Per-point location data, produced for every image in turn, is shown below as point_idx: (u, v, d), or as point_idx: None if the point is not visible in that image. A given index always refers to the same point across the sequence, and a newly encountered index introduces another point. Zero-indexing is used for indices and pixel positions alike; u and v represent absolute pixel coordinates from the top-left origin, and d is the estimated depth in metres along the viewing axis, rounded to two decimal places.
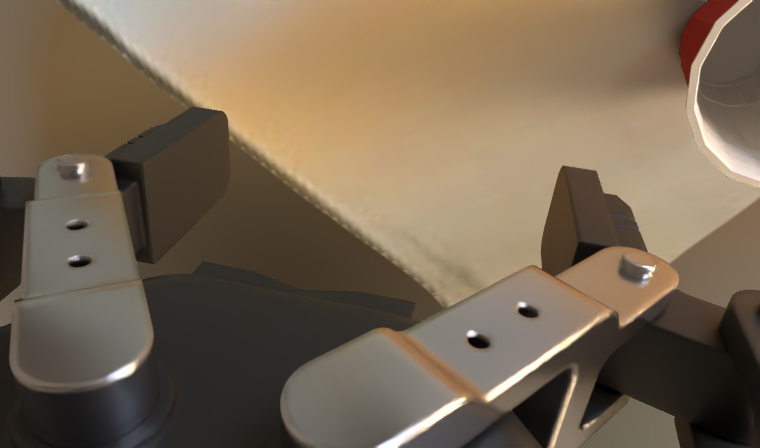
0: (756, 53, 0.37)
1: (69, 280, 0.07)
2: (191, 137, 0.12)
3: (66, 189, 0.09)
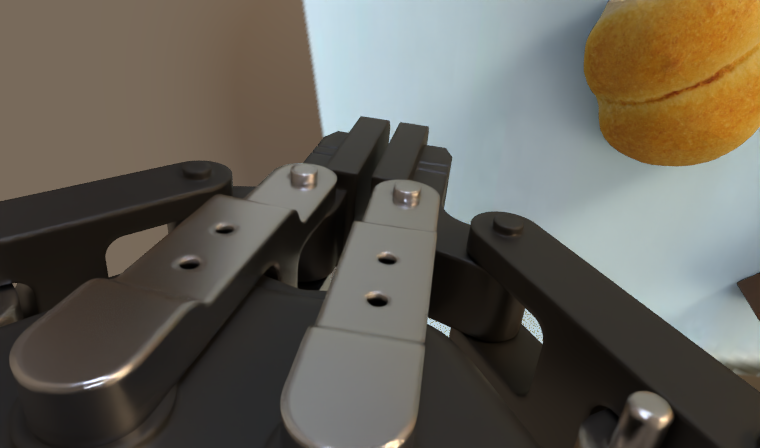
0: None
1: (163, 278, 0.07)
2: (375, 146, 0.13)
3: (312, 199, 0.10)
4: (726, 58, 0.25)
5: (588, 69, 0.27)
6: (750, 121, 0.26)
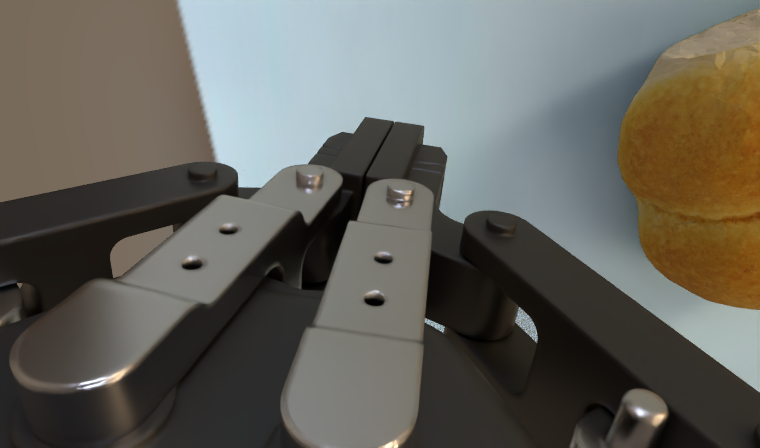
0: None
1: (165, 278, 0.07)
2: (380, 147, 0.13)
3: (318, 200, 0.10)
4: None
5: (626, 161, 0.17)
6: None
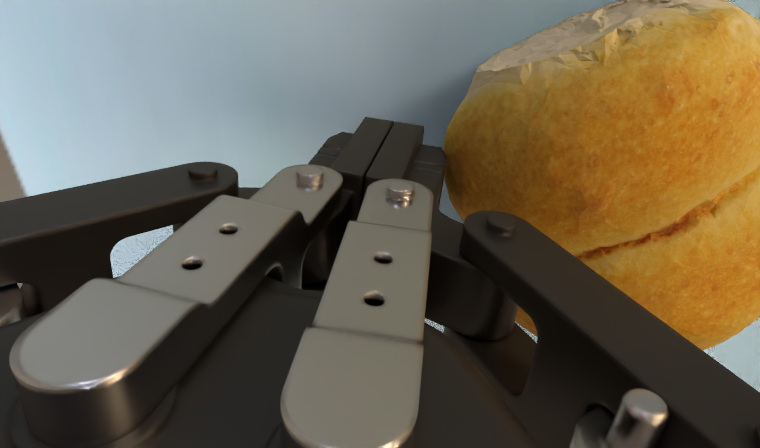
0: None
1: (166, 279, 0.07)
2: (380, 147, 0.13)
3: (318, 200, 0.10)
4: (702, 192, 0.12)
5: (448, 189, 0.15)
6: (754, 305, 0.13)
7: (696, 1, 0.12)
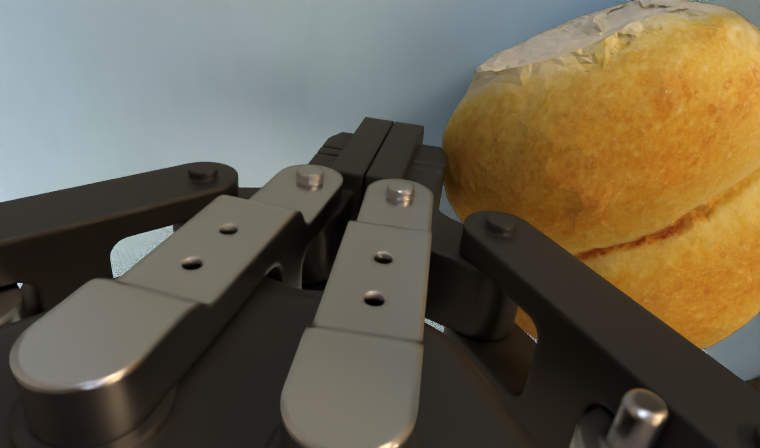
0: None
1: (165, 279, 0.07)
2: (380, 147, 0.13)
3: (318, 200, 0.10)
4: (697, 196, 0.12)
5: (446, 188, 0.15)
6: (745, 308, 0.13)
7: (696, 7, 0.12)
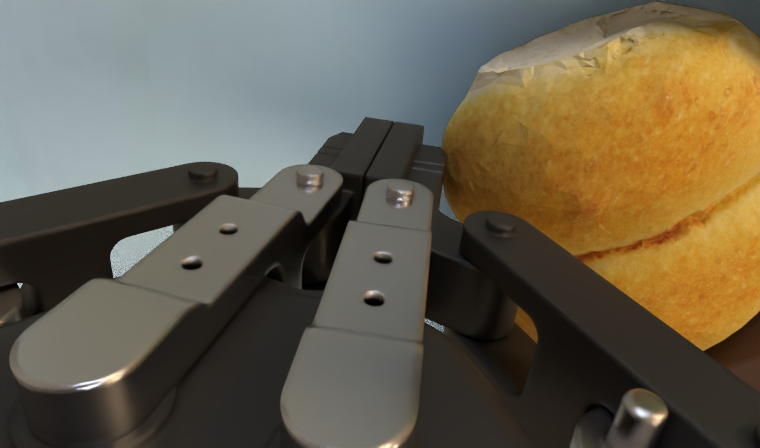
0: None
1: (165, 279, 0.07)
2: (380, 147, 0.13)
3: (318, 200, 0.10)
4: (694, 202, 0.12)
5: (444, 187, 0.15)
6: (738, 314, 0.13)
7: (698, 13, 0.12)
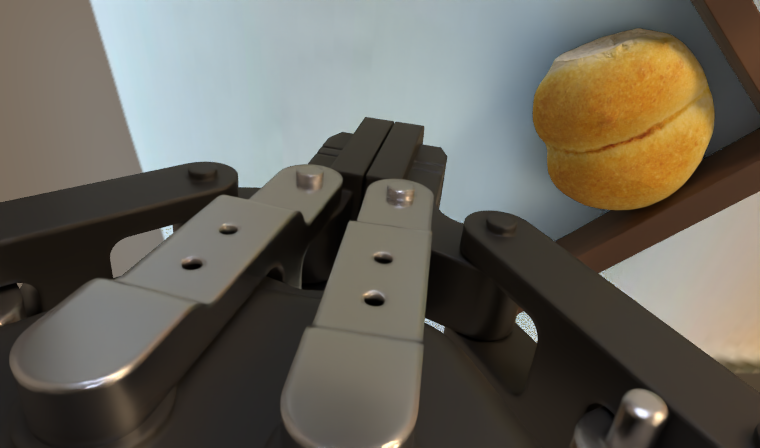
0: None
1: (165, 278, 0.07)
2: (380, 147, 0.13)
3: (318, 200, 0.10)
4: (655, 117, 0.27)
5: (535, 119, 0.30)
6: (679, 174, 0.28)
7: (656, 33, 0.27)
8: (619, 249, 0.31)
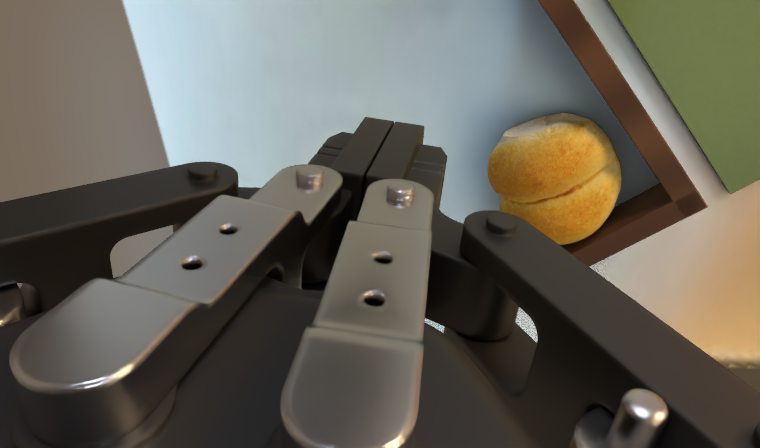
0: None
1: (165, 278, 0.07)
2: (380, 147, 0.13)
3: (318, 200, 0.10)
4: (575, 181, 0.37)
5: (489, 177, 0.39)
6: (594, 221, 0.38)
7: (577, 118, 0.37)
8: None
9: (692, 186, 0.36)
